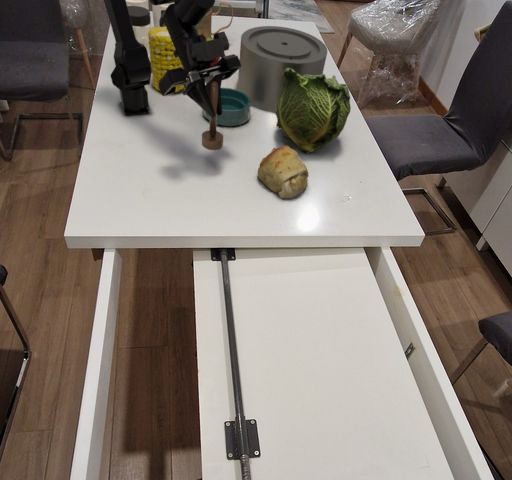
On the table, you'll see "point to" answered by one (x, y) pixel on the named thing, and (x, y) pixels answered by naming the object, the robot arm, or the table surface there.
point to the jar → (141, 24)
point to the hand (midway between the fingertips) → (217, 116)
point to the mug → (205, 24)
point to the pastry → (283, 172)
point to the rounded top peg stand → (213, 124)
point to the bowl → (233, 108)
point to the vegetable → (312, 109)
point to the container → (276, 61)
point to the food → (162, 55)
